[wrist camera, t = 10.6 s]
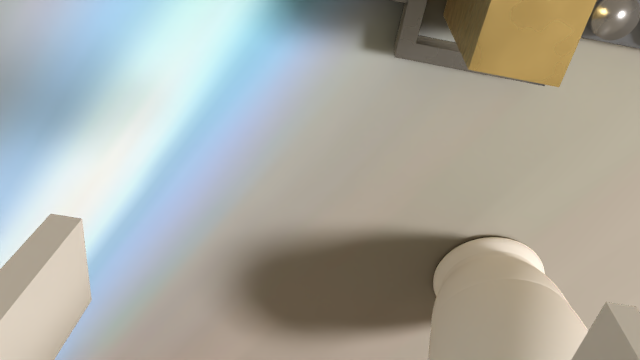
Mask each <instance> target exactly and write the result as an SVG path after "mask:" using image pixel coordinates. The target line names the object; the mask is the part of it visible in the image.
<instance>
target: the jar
mask: <svg viewBox="0 0 640 360" xmlns="http://www.w3.org/2000/svg"><path fill="white" fill-rule="evenodd" d="M433 288H434V292H435V295H436V300H435V303H434V307H433V312H432V320H431V333H430V341H429V359H428V360H571V359H572V358H573V356H574V354H575V353H576V351H577V349H578V348H579V346H580V344H581V343H582V341H583V339H584V338H585V336H586V334H587V333H588V330H587V328H586V326H585V325H584V323H583V322H582V320H581V319H580V318H579V316H578V315H577V313H576V312H575V311H574V310H573V308H572V307H571V306H570V305H569V303H568V301H567V300H566V298H565V297H564V295H563V294H562V292H561V291H560V290H559V288H558V287H557V286H556V285H555V284H554V283H553V281H552V280H551V279H550V278H548V277H547V276H546V275H545V272H544V267H543V264H542V262H541V260H540V258H539V257H538V255H537V254H536V253H535V252H534V251H533V250H532V249H530V248H529V247H528V246H526V245H524V244H522V243H520V242H518V241H515V240H512V239H508V238H500V237H488V238H480V239H476V240H472V241H469V242H466V243H464V244H462V245H460V246H458V247H456V248H455V249H453V250H452V251H450V252H449V253H448V254H447V255H446V256H445V257H444V258H443V259H442V260H441V262H440V263H439V265H438V266H437V268H436V271H435V274H434V278H433Z"/></svg>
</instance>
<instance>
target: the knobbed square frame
mask: <svg viewBox="0 0 640 360" xmlns="http://www.w3.org/2000/svg"><path fill="white" fill-rule="evenodd" d="M392 1H397V2H402V3H405V4H404V8H403V12H402V16H401V20H400V24H399V28H398V32H397V36H396V40H395V44H394V55H395V57H397V58H402V59H408V60H413V61H418V62H423V63H428V64H433V65H439V66H444V67H449V68H454V69H459V70H464V71H470V72H475V73H480V74H485V75H490V76H495V77H501V78H506V79H511V80H516V81H521V82H526V83H532V84H537V85H542V86H545V84H540V83H535V82H530V81H524V80H519V79H514V78H509V77H504V76H499V75H493V74H488V73H483V72H478V71H473V70H468V68H467V66H466V63H465V61H464V59H463V57H462V55H461V53H460V50H459V48H458V46H457V44H456V42H450V41H445V40H440V39H435V38H430V37H425V36H419V35H418V33H419V30H420V26H421V22H422V18H423V15H424V11H425V7H426V3H427V0H392ZM581 37H583V38H588V39H593V40H598V41H603V42H609V43H614V44H619V45H624V46H629V47H634V48H640V0H597V1H596V3H595V6H594V8H593V10H592V13H591V15H590V17H589V19H588V22H587V24H586V26H585V29H584V31H583V33H582V36H581Z"/></svg>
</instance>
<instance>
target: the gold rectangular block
mask: <svg viewBox="0 0 640 360" xmlns="http://www.w3.org/2000/svg"><path fill="white" fill-rule="evenodd" d="M596 1H597V0H447V3H446V7H445V10H444V14H443V16H444V18H445V20H446V22H447V24H448V26H449V29H450V31H451V33H452V35H453V37H454V40H455V42H456V44H457V46H458V48H459V50H460V53H461V55H462V57H463V59H464V61H465V63H466V66H467V68H468V70H473V71H478V72H483V73H488V74H493V75H499V76H504V77H509V78H514V79H519V80H524V81H530V82H535V83H540V84H545V85H550V86H556V87H559V86H560V84H561V82H562V79H563V77H564V75H565V72H566V70H567V68H568V65H569V63H570V61H571V59H572V56H573V54H574V52H575V49H576V47H577V45H578V42H579V40H580V38H581V36H582V33H583V31H584V29H585V26H586V24H587V22H588V19H589V17H590V15H591V13H592V10H593V8H594V6H595V3H596Z"/></svg>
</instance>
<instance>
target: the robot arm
mask: <svg viewBox="0 0 640 360" xmlns="http://www.w3.org/2000/svg"><path fill="white" fill-rule="evenodd" d="M90 302H91V292H90V283H89V275H88V266H87V258H86V249H85V241H84V232H83V224H82V219H80V218H74V217H68V216H61V215H55V214H50V215H49V216H48V217H47V218H46V220H45V221H44V222H43V223H42V224H41V225H40V226H39V227H38V228H37V229H36V231H35V232H34V233H33V234H32V235H31V236H30V237H29V238H28V239H27V240H26V242H25V243H24V244H23V245H22V246H21V247H20V248H19V249H18V250H17V252H16V253H15V254H14V255H13V256H12V257H11V258H10V259H9V260H8V261H7V263H6V264H5V265H4V266H3V267H2V268H1V269H0V360H54V359H55V357H56V356H57V354H58V353H59V351H60V349H61V348H62V346H63V345H64V343H65V342H66V340H67V338H68V337H69V335H70V334H71V332H72V330H73V329H74V327H75V326H76V324H77V322H78V321H79V319H80V318H81V316H82V314H83V313H84V311H85V310H86V308H87V307H88V305H89V303H90ZM571 360H640V312H639V311H638V309H637V307H635V306H629V305H623V304H616V303H610V302H606V303H605V304H604V306H603V308H602V309H601V311H600V313H599V314H598V316H597V318H596V319H595V321H594V323H593V324H592V326H591V328H590V329H589V331H588V333H587V334H586V336H585V338H584V339H583V341H582V343H581V344H580V346H579V348H578V349H577V351H576V353H575V354H574V356H573V358H572V359H571Z"/></svg>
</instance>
